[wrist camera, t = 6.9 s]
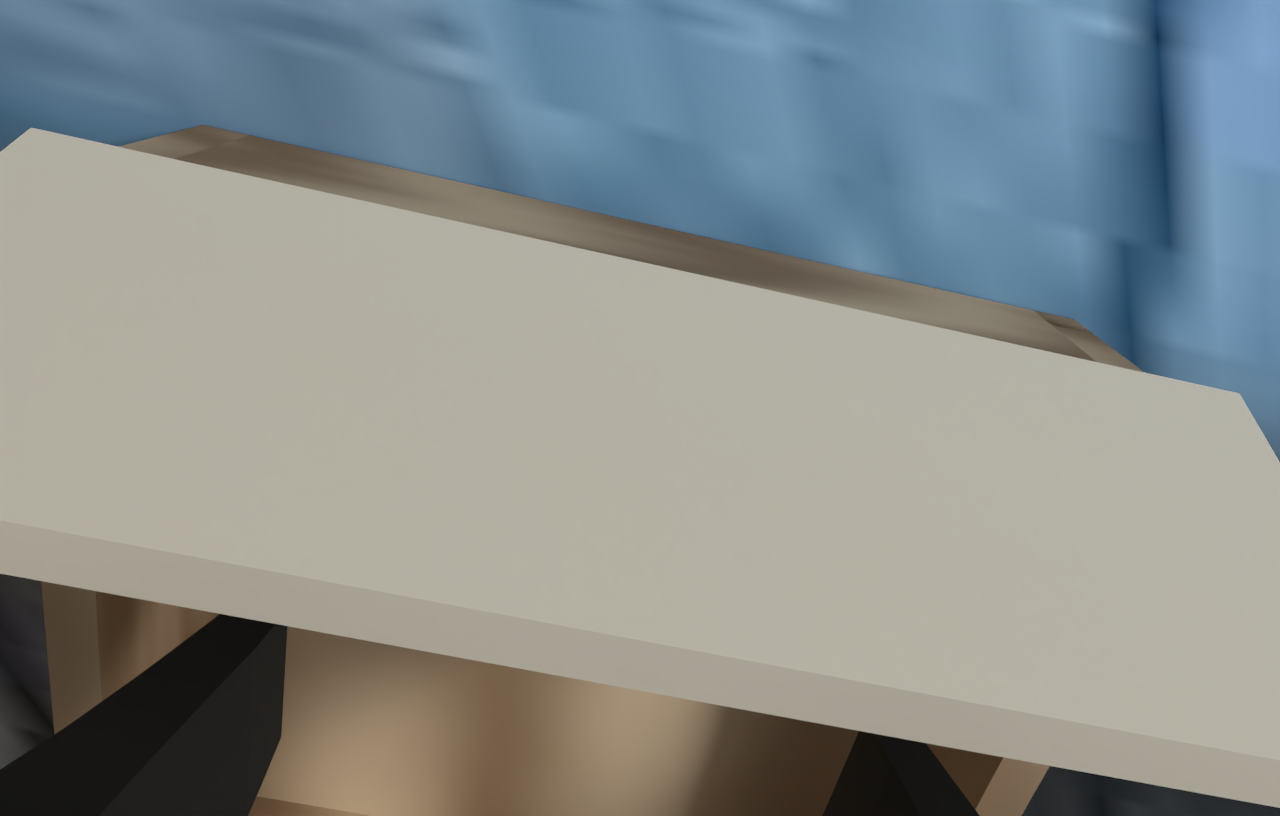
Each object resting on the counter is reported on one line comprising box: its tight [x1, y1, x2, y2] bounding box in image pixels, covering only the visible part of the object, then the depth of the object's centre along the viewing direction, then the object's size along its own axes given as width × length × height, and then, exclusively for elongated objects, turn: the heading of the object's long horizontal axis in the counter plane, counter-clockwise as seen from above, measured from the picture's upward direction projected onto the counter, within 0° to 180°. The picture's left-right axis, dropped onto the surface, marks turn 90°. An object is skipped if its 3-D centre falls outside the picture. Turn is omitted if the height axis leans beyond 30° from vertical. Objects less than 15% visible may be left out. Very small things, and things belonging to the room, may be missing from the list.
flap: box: [0, 128, 1280, 808], centre depth 9 cm, size 15×5×1 cm
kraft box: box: [41, 125, 1143, 816], centre depth 17 cm, size 16×16×5 cm
